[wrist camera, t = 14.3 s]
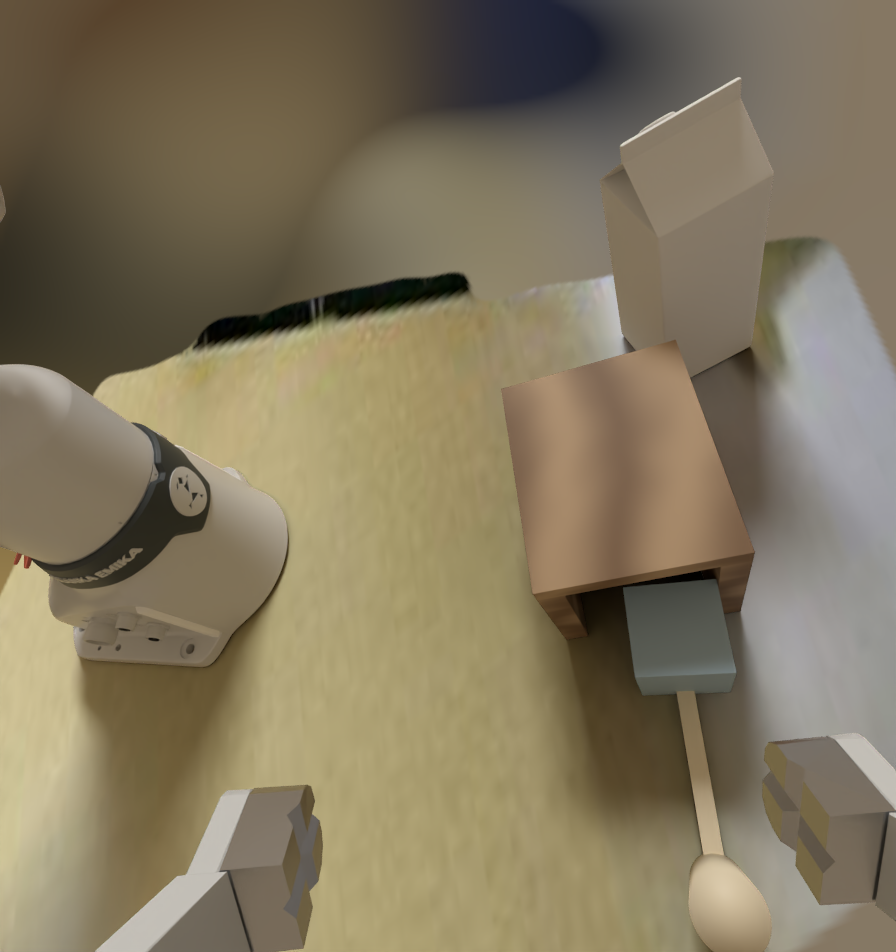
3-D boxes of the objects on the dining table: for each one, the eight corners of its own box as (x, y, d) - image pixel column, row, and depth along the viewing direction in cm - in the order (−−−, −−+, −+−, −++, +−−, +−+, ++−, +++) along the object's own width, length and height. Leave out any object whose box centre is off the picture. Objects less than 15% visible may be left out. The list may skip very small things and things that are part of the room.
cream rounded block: (672, 913, 31) (664, 955, 22) (631, 615, 39) (613, 556, 30) (777, 920, 29) (815, 968, 20) (713, 609, 37) (719, 545, 28)
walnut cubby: (566, 639, 39) (532, 593, 31) (535, 464, 47) (501, 388, 38) (740, 610, 37) (754, 552, 28) (678, 428, 44) (675, 339, 36)
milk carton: (752, 346, 45) (784, 103, 29) (667, 391, 46) (654, 175, 30) (698, 293, 49) (702, 54, 34) (621, 334, 50) (589, 119, 34)
